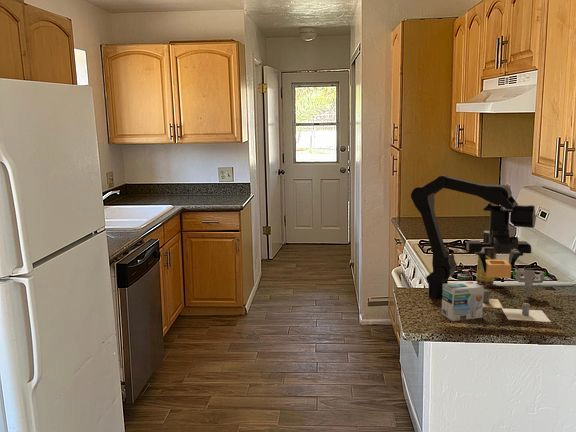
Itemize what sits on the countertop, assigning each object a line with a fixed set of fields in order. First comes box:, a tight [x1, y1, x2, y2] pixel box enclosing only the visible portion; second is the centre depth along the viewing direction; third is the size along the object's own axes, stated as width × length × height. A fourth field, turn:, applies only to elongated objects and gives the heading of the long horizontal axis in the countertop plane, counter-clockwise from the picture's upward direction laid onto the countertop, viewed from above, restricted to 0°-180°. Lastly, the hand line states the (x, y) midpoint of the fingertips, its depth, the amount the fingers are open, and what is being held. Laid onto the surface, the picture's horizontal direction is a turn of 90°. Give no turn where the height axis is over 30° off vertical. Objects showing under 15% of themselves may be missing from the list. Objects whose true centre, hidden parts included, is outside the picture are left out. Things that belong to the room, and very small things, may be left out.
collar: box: [485, 259, 512, 279], centre depth 176 cm, size 7×7×4 cm
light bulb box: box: [440, 280, 485, 324], centre depth 168 cm, size 11×7×11 cm, turn 106°
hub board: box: [501, 302, 552, 323], centre depth 169 cm, size 12×10×4 cm
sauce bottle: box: [476, 230, 497, 286], centre depth 204 cm, size 6×6×20 cm
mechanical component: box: [512, 268, 547, 298], centre depth 186 cm, size 3×10×10 cm, turn 78°
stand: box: [483, 289, 504, 309], centre depth 180 cm, size 9×9×5 cm
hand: (497, 273), depth 176 cm, fingers closed on collar, 7 cm apart
